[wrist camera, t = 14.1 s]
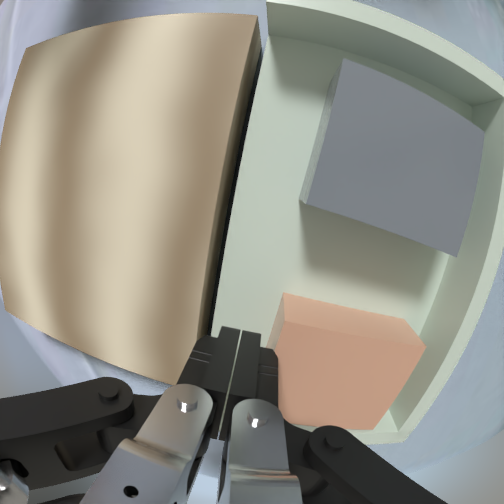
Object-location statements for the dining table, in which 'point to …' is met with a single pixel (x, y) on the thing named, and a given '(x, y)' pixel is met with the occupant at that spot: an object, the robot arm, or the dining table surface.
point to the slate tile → (394, 159)
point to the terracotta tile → (339, 362)
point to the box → (347, 229)
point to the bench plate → (124, 183)
